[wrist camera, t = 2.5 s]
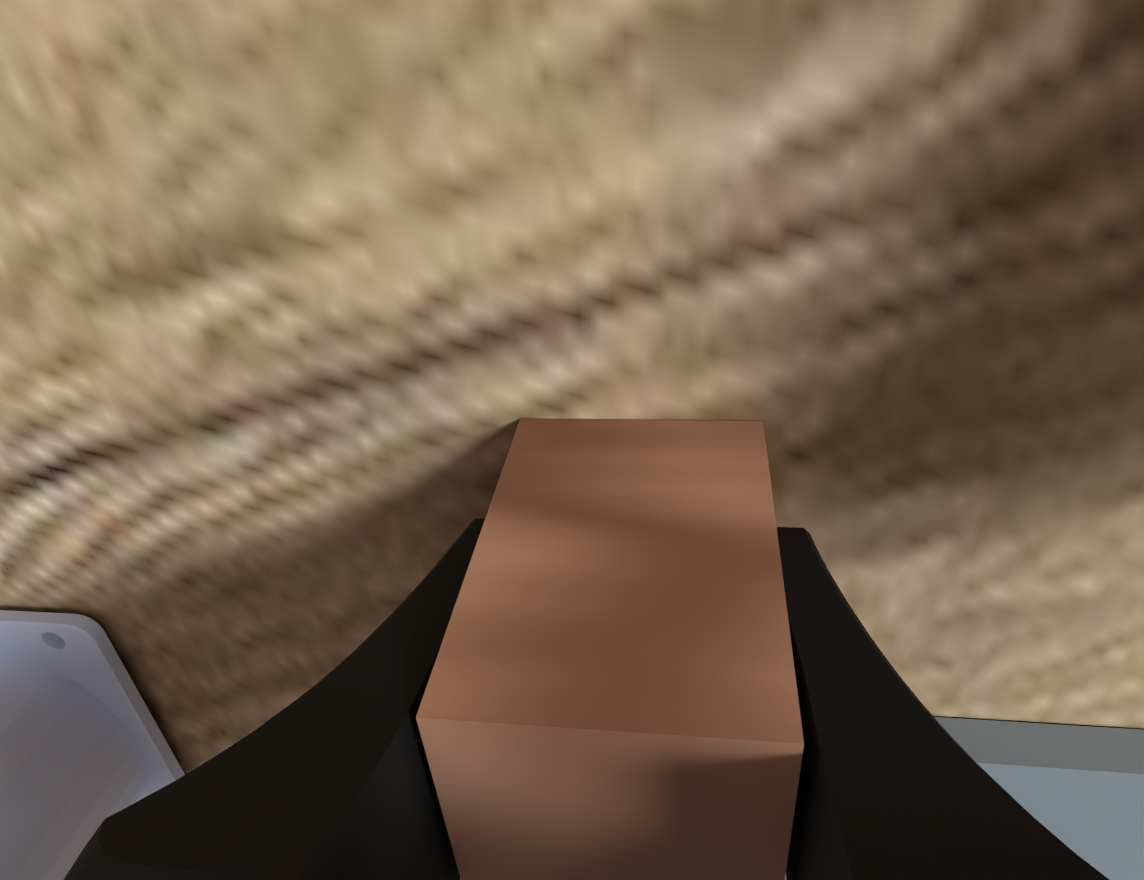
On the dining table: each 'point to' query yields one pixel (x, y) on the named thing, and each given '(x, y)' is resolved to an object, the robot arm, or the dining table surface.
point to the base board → (1069, 783)
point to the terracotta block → (620, 662)
